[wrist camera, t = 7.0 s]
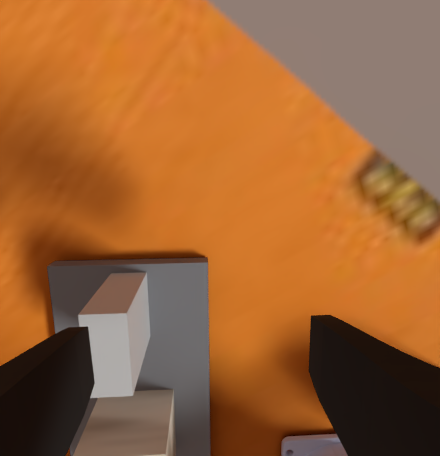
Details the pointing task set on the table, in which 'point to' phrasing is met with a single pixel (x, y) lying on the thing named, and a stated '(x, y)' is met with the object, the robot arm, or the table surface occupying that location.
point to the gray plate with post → (142, 333)
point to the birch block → (131, 426)
